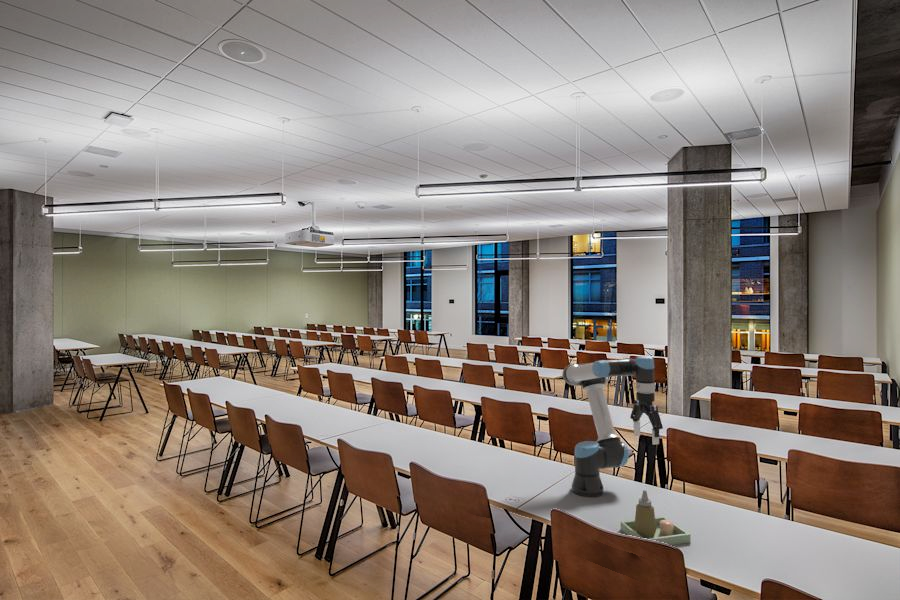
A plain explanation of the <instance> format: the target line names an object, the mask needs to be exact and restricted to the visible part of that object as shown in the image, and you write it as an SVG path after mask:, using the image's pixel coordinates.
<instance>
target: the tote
mask: <svg viewBox="0 0 900 600" xmlns="http://www.w3.org/2000/svg"><path fill="white" fill-rule="evenodd" d="M660 520H669V521H671V520H670V519H668V518H667V517H666V516H658V517H656V516H655V522H656V532H655V535H654V538H648V539H651V540H656V541H659V542H664V543H667V544H671V545H670V546H674V545H681V544H687V543H691V533H689V532H687V531H686V530H685V529H683V528H682V527H680V526H678V525H677V524H675V523H674V522H673V525H674V535H671V536H663V535H661V534H660ZM619 523H620V524H619V525H620V531H622V532H623V533H624V534H626V535H627V534H628V535H632V536H636V537H640V538H643V537H642V536H640V535H639V534H638V533H637V532H636V529H635V519H633V520H626V521H620V522H619ZM628 535H627V536H628Z"/></svg>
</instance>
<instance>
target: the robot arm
mask: <svg viewBox="0 0 900 600" xmlns="http://www.w3.org/2000/svg"><path fill="white" fill-rule="evenodd" d="M629 376H633V377H635V382H636V388H635V389H636V393H635V395H636V397H635V398H636V399H634V400H633V407H632V410H631V413H630V417H629V418H630V419H631V420H632V422H633V436H634V437H640V436H641V420H640V419H641V418H642V416H643V414H645V415H646V416H647V418H648V419H649V420H648V421H650V424H651V426H652V428H651V437H652V438H651V442H652V445H660V430H663V429H664V428H663V424H662V420H661V417H660V413H659V409H658V408H659V407H658V405H653V403H654V402H655V400H656V399H655V393H654V392H655V391H656V390H655V359H654V358H653V357H652V356H643V355H642V356H636V357H635V359H633V358H630V357H628V358H627V357H625V358H620V359H601V360H596V361H594V362H587V363H571V364H569V365H567V366H565V367H564V369H563V370H562V379H563V380H564V382H565V383H566V384H568V385H569V386H574V387H582V390H583V391H584V392H585V393H586V395H587V398H588V399H587V400H588V402H589V403H588V404H589V406H590V407H589V408H590V410H591V411H590V412H591V414H592V418H593V422H594V426H595V429H596V433H597V440H596V441H595V440H594V441H593V440H590V441H589V440H584V441H580V442H578V443H577V444H576V445H575V447H574V453H573V454H574V476H573V480H572V482H571V491H572V493H574V494H575V493H576V495H578V496H581V497H588V498H590V497H591V498H592V497H593V498H594V497H599V496H602V495H603V494H604V485H603V482H602V479H601V476H600V470H601V469H610V468H615V469H617V468H619V467H624V466H625V465H626V464H627V463H628V461H629V457H630V455H629V453H630V452H629V447H628V445H627V444H626V443H625V442H623V441H621V438H620V436H618V435H617V434H616V430H615V429H614V428H615V426H614V424H613V421H612V416H611V413H610V409H609V406H608V405H609V404H608V402H607V399H606V394H605V391H604V389H605V386H606V384H607V381H608V378H610V377H629Z"/></svg>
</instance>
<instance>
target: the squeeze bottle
mask: <svg viewBox="0 0 900 600" xmlns="http://www.w3.org/2000/svg"><path fill="white" fill-rule="evenodd" d="M647 492H648V491H647V490H643V491H642V495H641V497H640V498H638V504H636V507H635V515H634V516H635V517H634V520H635V529H636V532H637V533H638V534H639V535H640V536H642V537H643V538H647V539H648V538H654V535H655V532H656V522H655V518H656V516H655V507H654V506H653V505H652V500H651V499H650V498H648V497H649V496H648V493H647Z"/></svg>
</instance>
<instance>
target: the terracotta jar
mask: <svg viewBox="0 0 900 600" xmlns="http://www.w3.org/2000/svg"><path fill="white" fill-rule="evenodd" d="M669 520H670V519H668V520H660V534H661V535H663V536H671V535H674V525H673V523H674V522H673V521H671V520H670V521H669Z"/></svg>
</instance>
